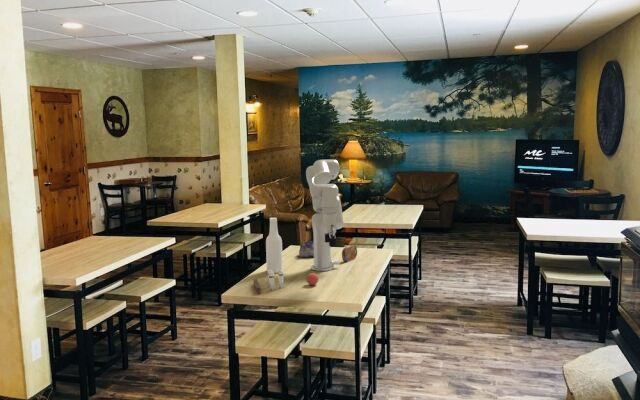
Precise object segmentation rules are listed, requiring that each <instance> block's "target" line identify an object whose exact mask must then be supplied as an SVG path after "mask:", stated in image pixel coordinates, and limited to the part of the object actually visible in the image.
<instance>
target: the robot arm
mask: <svg viewBox="0 0 640 400" xmlns="http://www.w3.org/2000/svg"><path fill="white" fill-rule="evenodd" d="M339 163H340V162H338V160H336V159H318V160H316V161H315V162H314V163H313V165H309V166H308V167H307V168H306V171H305V176H306V182H307V184H308V187H309V192H310V196H311V202H312V209H313V210H314V212H316V213H315V214H313V215H312V217H311V225H312V232H313V233H312V234H313V235H312V236H313V241H314V257H313V265H312V266H311V265H310V266H311V270H313V271H317V272H326V271H327V272H328V271H331V270H334V269H335V268H334V266H335V265H340V261H339V260H338V261H337V260H332V256H331V253H332V251H331V249H332V248H331V247H336V245H337V241H336V240H337V239H336V233H337V230H340V229H342V228H343V226H344V216H343V210H342V209H343V208H342V201H341V198H340V197H339V196H338V195H339V187H338V185H336V184H335V183H330V182H331V180H335V179H337V177H338V175H339V174H340V169H341V167H340V164H339Z"/></svg>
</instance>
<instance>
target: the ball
mask: <svg viewBox="0 0 640 400" xmlns="http://www.w3.org/2000/svg"><path fill="white" fill-rule="evenodd" d="M306 282H307V284H308V285H311V286H316V285H317V283H318V282H319V276H318V274H317V273H315V272H312V273H311V272H310V273H309V274H308V275H307V276H306Z"/></svg>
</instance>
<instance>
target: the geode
mask: <svg viewBox="0 0 640 400" xmlns="http://www.w3.org/2000/svg"><path fill="white" fill-rule="evenodd" d="M298 256H299V257H300V258H311V257H312V258H314V240H308V241H305V243H303V244H300V246H299V250H298Z"/></svg>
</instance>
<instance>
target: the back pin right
mask: <svg viewBox="0 0 640 400" xmlns="http://www.w3.org/2000/svg"><path fill="white" fill-rule="evenodd" d="M269 272H273V270H268V271H267V285H268V286H267V287H268V288H269Z"/></svg>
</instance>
